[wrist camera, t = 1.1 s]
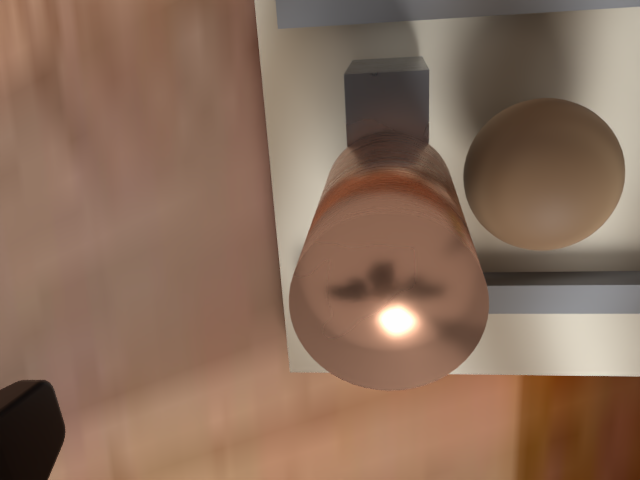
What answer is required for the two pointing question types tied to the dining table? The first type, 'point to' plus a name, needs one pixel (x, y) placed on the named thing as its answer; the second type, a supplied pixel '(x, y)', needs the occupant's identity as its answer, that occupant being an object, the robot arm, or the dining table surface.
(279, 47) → the nutcracker board
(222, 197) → the dining table surface
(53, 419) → the robot arm
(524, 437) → the dining table surface
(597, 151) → the walnut
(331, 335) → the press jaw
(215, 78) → the dining table surface
